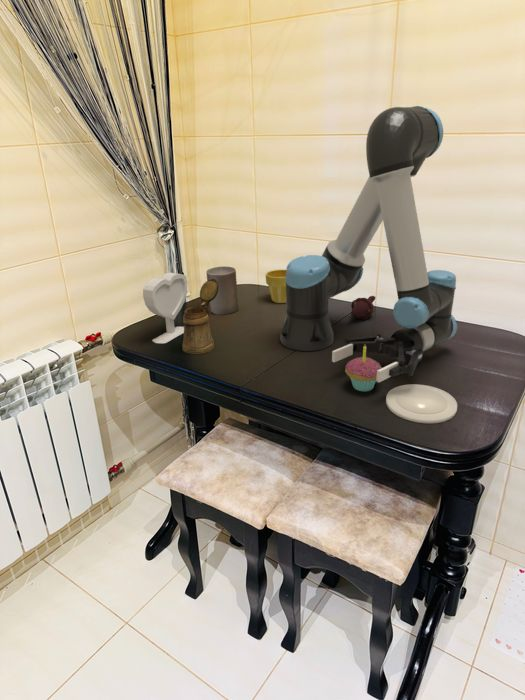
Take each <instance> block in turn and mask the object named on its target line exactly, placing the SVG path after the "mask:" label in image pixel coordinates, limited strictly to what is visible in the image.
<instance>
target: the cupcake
mask: <svg viewBox="0 0 525 700" xmlns="http://www.w3.org/2000/svg"><path fill="white" fill-rule="evenodd" d="M365 345H366V344H365ZM381 368H383V367H382V365H381V364H380V362H378V361H377V360H375V359H373V358H371V357H367V352H366V346H364V347H363V352H362V356H360V357H356V358H352V359H351V360H349V361H348V362H347V363H346V365H345V369H344V373H345V374H346V375H347V376H348V377H349V378H350V381H351V384H352V387H353V388H354V390H357V391H359V392H371V391H372V390H373V389H374V387H375V384H376V383H377V381H376V379H377V370H379V369H381Z"/></svg>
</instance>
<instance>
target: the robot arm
mask: <svg viewBox="0 0 525 700" xmlns="http://www.w3.org/2000/svg"><path fill="white" fill-rule="evenodd" d="M443 126H444V125H443V122H442V120H441V118H440V116H439V115H438V113H437V112H435V111H434V110H432V109H431V108H428V107H424V106H420V105H416V106H415V105H413V106H410V107H409V106H407V107H405V106H404V107H402V106H394V107H390V108H387V109H385V110H383V111H381V112H380V113H379V114H378V115H377V116H376V117H375V118H374V119H373V120H372V123H371V124H370V126H369V129H368V131H367V135H366V141H365V142H366V143H365V144H366V145H365V151H366V152H365V154H366V163H367V170H368V174H369V176H368V177H367V180H366V182H365V184H364V185H363V188H362V190H361V191H360V194H359V195H358V196H357V199H356V200H355V203H354V205H353V206H352V208H351V211H350V213H349V214H348V216H347V218H346V220H345V223H344V224H343V226H342V228H341V229H340V231H339V234H338V235H337V238H336V239H333V240H330V241H329V242H328V243H327V245H326V247H325V248H324V251H323V252H322V254H321V255H316V254H311V255H310V254H309V255H307V254H306V255H305V256H303V255H302V256H299V257H295V258H293V259H292V260H291V261H290V262H289V263H288V264H287V265H286V269H285V270H286V276H285V280H286V303H285V307H286V308H285V309H286V312H285V313H286V315H285V317H284V322H283V324H282V327H281V330H280V335H279V336H280V340H279V341H280V342H281V345H283V346H284V347H286V348H288V349H291V350H295V351H301V352H313V351H320V350H324V349H326V348H328V347H330V346H331V345H332V344H334V331H333V330H334V329H333V327H332V324H331V321H330V318H329V299H332V298H334V297H335V296H337V295H340V294H341V293H344V292H347V291H349V290H351V289H352V288H354V287H355V286H356V285H357V284H359V282H360V280H362V276H363V273H364V267H363V266H364V264H365V262H366V258H365V255H364V254H365V252H366V250H367V248H368V246H369V245H370V243H371V241H372V240H373V238H374V237H375V234H376V233H377V231H378V230H379V227H380V226H381V224H382V222H383V227H384V231H385V236H386V237H385V238H386V241H387V248H388V252H389V256H390V262H391V268H392V273H393V278H394V283H395V287H396V293H397V301H396V302H395V304H394V306H393V309H392V315H393V318H394V320H395V322H396V323H397V324H398V325H399V326H401V327H402V328H400V329H398V330H397V329H396V331H394V332H393V334H392V335H391V336H390V337H386V338H383V337H381V336H382V334H381V333H376V334H373V335H365V336H359V337H357V336H356V337H350V338H344V345H342V346H340V347H339V348H336V349H334V350H332V351H331V354H332V355H331V362H333V363H336V362H339V361H340V360H341V361H342V360H344V359H345V358H348V357H350V356H353V354H354V353H363V347H364V346H366V353H376V354H378V355H379V354H380V355H381V354H382V355H383V354H385V355H388V356H390V357H394V358H396V361H394V362H392V363H390V364H388V365H386V366H384V367H382V368H381V369H379V370H377V379H376V383H381V382H383V381H385V380H388V379H390V378H391V377H393V378H394V377H396V376H398V375H403V374H406V375H407V376H408V377H411V376H413V375H414V372H415V370H416V368H417V365H418V363H420V362H421V361H422V360H423V353H424V352H425V351H427V350H429V349H431V348H434V347H436V346H439V345H440V344H444V343H445V342H447V341H448V340H450V339H451V338H453V337H454V335H455V334H456V333H457V331H458V324H457V321H456V318H455V317H454V316H453V314H452V313H453V305H454V299H455V291H456V289H457V287H456V286H457V285H456V283H457V275H456V274H455V273H453V272H451V271H448V270H445V269H444V270H442V269H436V270H435V269H434V270H429V271H428V270H427V269H428V268H427V264H426V257H425V252H424V248H423V247H424V246H423V241H422V235H421V229H420V224H419V218H418V213H417V205H416V201H415V200H416V199H415V195H414V189H413V183H412V178H413V177H416V175H417V174H418V172H419V170H420V169H421V167H422V166H423V163H425V161H426V159H428V158H430V157H431V156H433V155H434V154H435V153H436V152H437V151H438V150H439V148H440V147H441V144H442V142H443V138H444V127H443ZM365 344H366V345H365ZM380 346H381V347H380ZM380 348H381V349H380ZM406 359H410V360H409V361H408V364H406Z"/></svg>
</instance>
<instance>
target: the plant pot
mask: <svg viewBox="0 0 525 700" xmlns="http://www.w3.org/2000/svg"><path fill="white" fill-rule="evenodd" d="M285 276H286V269H281V268H280V269H273V270H269V271H267V272H266V273H265V283H266V285H267V287H268V290H269V294H270V297H271V301H272V302H274V303H276V304H286V280H285Z"/></svg>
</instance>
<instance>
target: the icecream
mask: <svg viewBox="0 0 525 700" xmlns="http://www.w3.org/2000/svg"><path fill="white" fill-rule="evenodd" d="M375 300H376V296H375V295H371V296H369V297H368V298H367V297H357V298H356V299H354V300H352V302H351V313H350V315H352V316H355V318H357V319H359V320H367V319H368V318H370V317H371V316H372V314H373V313H374V310H375V309H374V307H375V306H374V305H375V304H374V303H373V302H374V301H375Z"/></svg>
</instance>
